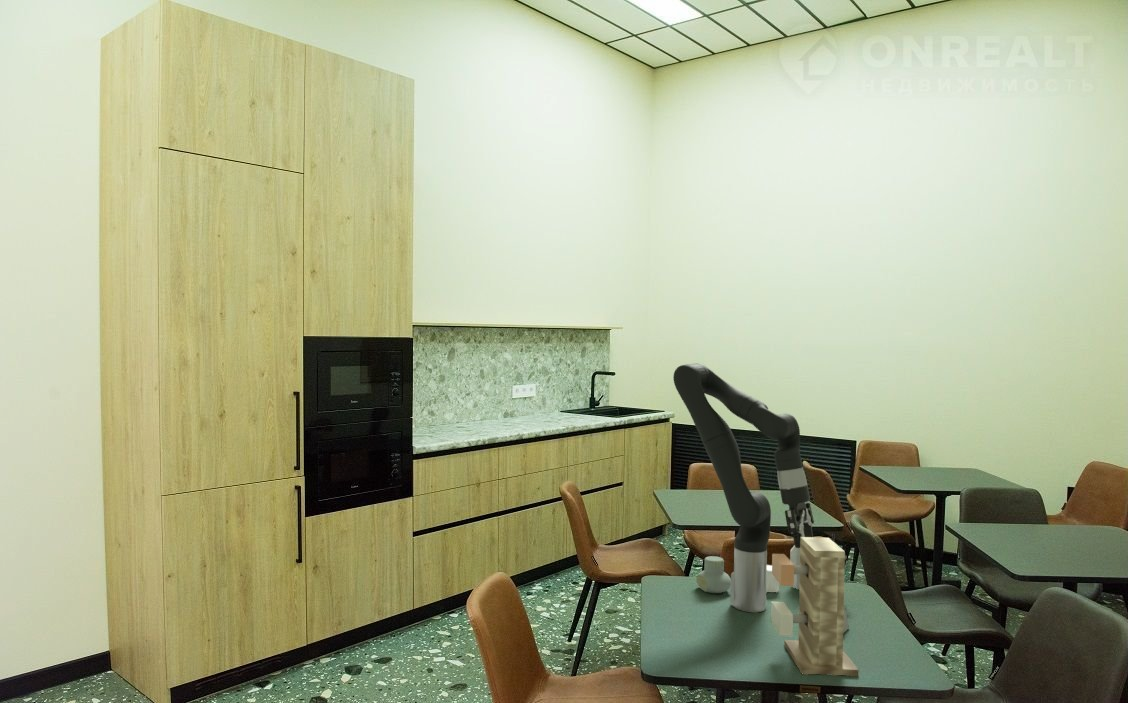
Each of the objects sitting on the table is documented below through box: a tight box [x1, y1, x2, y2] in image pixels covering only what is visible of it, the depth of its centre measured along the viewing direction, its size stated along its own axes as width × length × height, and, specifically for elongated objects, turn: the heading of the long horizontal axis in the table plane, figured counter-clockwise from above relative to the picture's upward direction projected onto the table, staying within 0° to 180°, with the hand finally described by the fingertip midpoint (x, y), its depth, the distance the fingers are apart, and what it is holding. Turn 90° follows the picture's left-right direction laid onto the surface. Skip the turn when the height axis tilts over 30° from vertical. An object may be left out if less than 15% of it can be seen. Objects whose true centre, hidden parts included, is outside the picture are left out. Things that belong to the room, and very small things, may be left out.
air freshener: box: [696, 555, 731, 594], centre depth 227 cm, size 11×8×10 cm
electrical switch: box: [843, 606, 850, 634], centre depth 197 cm, size 9×5×9 cm, turn 141°
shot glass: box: [766, 564, 780, 593], centre depth 229 cm, size 7×7×7 cm
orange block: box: [771, 553, 809, 587], centre depth 178 cm, size 8×9×5 cm
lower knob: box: [770, 601, 808, 637], centre depth 178 cm, size 8×9×5 cm
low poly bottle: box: [789, 526, 805, 590], centre depth 231 cm, size 6×6×22 cm
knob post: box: [783, 536, 860, 677], centre depth 178 cm, size 13×16×28 cm
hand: (804, 544), depth 201 cm, fingers open, 8 cm apart
